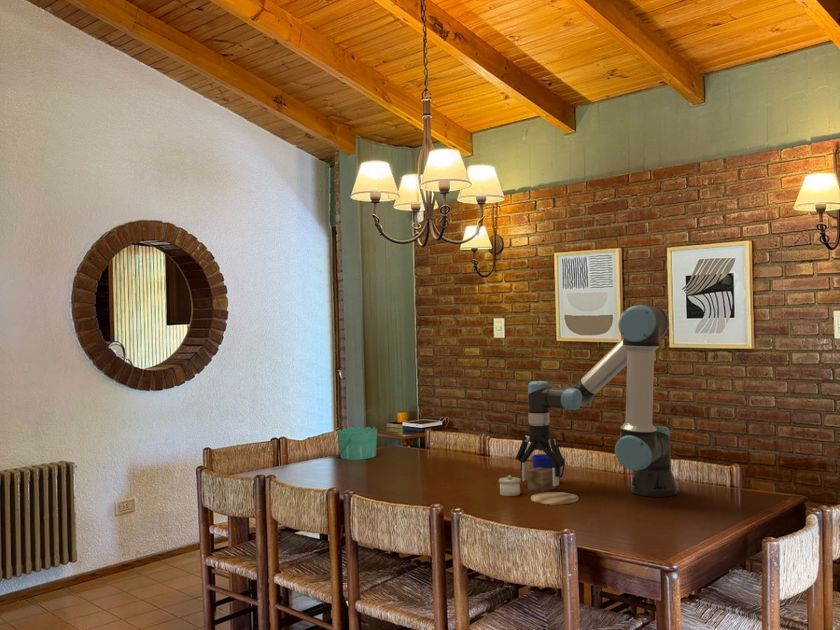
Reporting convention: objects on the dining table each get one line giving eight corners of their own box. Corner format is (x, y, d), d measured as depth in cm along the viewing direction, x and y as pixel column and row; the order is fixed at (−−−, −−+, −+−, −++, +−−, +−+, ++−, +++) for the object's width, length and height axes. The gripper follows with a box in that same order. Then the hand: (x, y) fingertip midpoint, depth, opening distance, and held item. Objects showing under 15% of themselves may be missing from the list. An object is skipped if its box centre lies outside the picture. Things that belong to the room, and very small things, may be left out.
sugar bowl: (525, 493, 263) (524, 474, 263) (511, 497, 258) (510, 478, 258) (508, 490, 268) (507, 472, 269) (494, 494, 263) (494, 475, 263)
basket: (361, 461, 337) (360, 433, 337) (329, 458, 347) (329, 431, 347) (385, 454, 353) (384, 427, 353) (355, 452, 363) (354, 425, 363)
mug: (565, 485, 274) (564, 458, 274) (532, 485, 276) (531, 457, 276) (565, 480, 282) (564, 454, 282) (533, 480, 284) (532, 454, 284)
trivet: (588, 498, 253) (588, 496, 253) (560, 507, 242) (560, 505, 242) (549, 491, 264) (549, 489, 264) (521, 500, 253) (521, 498, 253)
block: (555, 488, 269) (554, 469, 269) (543, 492, 264) (542, 472, 264) (539, 486, 274) (538, 467, 274) (527, 489, 269) (527, 470, 269)
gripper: (574, 425, 263) (575, 486, 263) (518, 420, 281) (519, 476, 281) (561, 428, 258) (563, 489, 258) (505, 422, 276) (507, 479, 276)
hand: (540, 482), depth 269 cm, fingers open, 13 cm apart
